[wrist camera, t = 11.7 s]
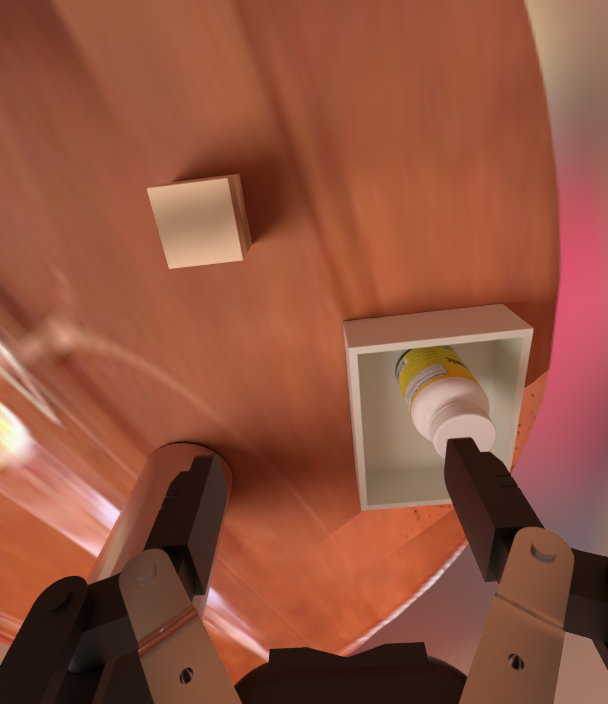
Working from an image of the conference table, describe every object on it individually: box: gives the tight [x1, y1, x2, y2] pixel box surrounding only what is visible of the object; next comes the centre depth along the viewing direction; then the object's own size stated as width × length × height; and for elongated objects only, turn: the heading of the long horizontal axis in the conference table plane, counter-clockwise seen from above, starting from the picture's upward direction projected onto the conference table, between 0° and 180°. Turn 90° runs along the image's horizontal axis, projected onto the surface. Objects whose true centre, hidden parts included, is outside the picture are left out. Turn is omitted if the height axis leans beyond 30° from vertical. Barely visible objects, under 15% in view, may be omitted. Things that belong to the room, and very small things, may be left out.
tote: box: [343, 304, 534, 511], centre depth 34 cm, size 17×13×5 cm
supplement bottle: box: [395, 345, 496, 458], centre depth 29 cm, size 5×5×10 cm
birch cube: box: [147, 174, 252, 269], centre depth 27 cm, size 5×5×5 cm
